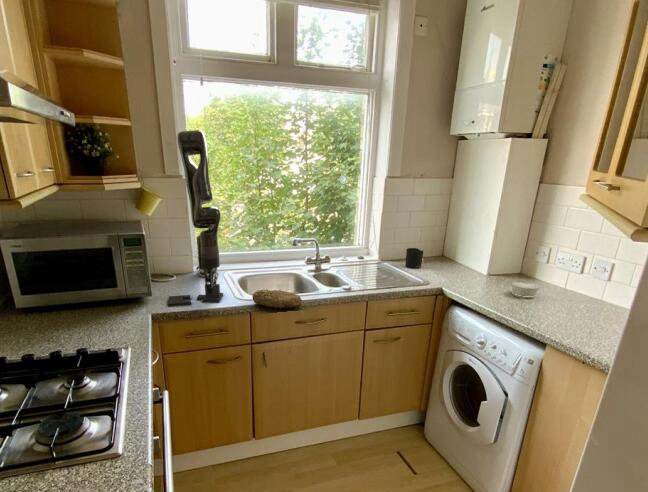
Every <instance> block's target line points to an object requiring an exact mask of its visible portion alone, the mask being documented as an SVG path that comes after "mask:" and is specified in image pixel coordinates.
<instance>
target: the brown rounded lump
mask: <svg viewBox="0 0 648 492" xmlns="http://www.w3.org/2000/svg"><path fill="white" fill-rule="evenodd" d="M251 297H252V300H253V302H254V304H257V305H260V306H263V307H264V306H265V307H269V308H273V309H293V308H297V307H300V306H302V305H303V299H302V297H301V296H300V295H299V294H296V293H294V292H289V291H285V290H281V289H280V290H279V289H275V290H269V289H257V290H255V292H253V293H252V296H251Z"/></svg>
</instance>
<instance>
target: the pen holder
mask: <svg viewBox="0 0 648 492" xmlns="http://www.w3.org/2000/svg"><path fill="white" fill-rule="evenodd" d="M405 251H406V252H405V267H406V268H408V269H412V270H413V269H414V270H415V269H416V270H417V269H421V268H422V264H423V257H424V250H422V249H419V248H418V247H417V248H416V247H408V248H406V250H405Z"/></svg>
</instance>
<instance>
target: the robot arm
mask: <svg viewBox="0 0 648 492" xmlns="http://www.w3.org/2000/svg"><path fill="white" fill-rule="evenodd" d="M177 145H178V149H179V153H180V158H181V162H182V166H183V171H184V172H183V173H184V179H185V185H186V190H187V195H188V200H189V205H190V206H189V207H190V215H191V222H192V225H193V227H194V229H198V230H199V229H200V230H201V229H205V230H201V231H200V233H199V235H197V236H196V250H197V261H198V266H196V267H195V269H196V270H198V275H199V277H201V278H204V288H205V287H207V291H208V296H213V284H218V278H219V277H218V274H219V273H218V268H220V266H221V265H220V264H221V263H220V250H219V249H220V248H219V241H218V233H219V228H220V227H219V225H220V222H221V218H222V215H221V211H220V209H219V208H218V207H217V206H203V205H206V204H209V203H211V202H212V201H213V199H214V198H213V192H212V187H211V182H210V180H211V179H210V172H209V171H210V169H209V156H208V148H207V140H206V136H205V134H204V132H203V131H202V130H200V129H193V130H181V131H179V132H178V133H177ZM197 155H199V163H198V165H196V164H195V163H194V161H193V160H192V159H191V157H190V156H197ZM208 284H210V285H208Z"/></svg>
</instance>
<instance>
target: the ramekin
mask: <svg viewBox="0 0 648 492" xmlns="http://www.w3.org/2000/svg"><path fill="white" fill-rule="evenodd" d="M539 287H540V286H539V285H537V284H535V283H532V282H527V281H513V282H512V283H511V294H512V296H514V297H517V298H521V299H533V298H535V296H536V295H537V293H538V290H539ZM512 292H513V293H514V294H513V293H512ZM515 294H517V295H515ZM518 295H521V296H518ZM523 296H534V297H523Z"/></svg>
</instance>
